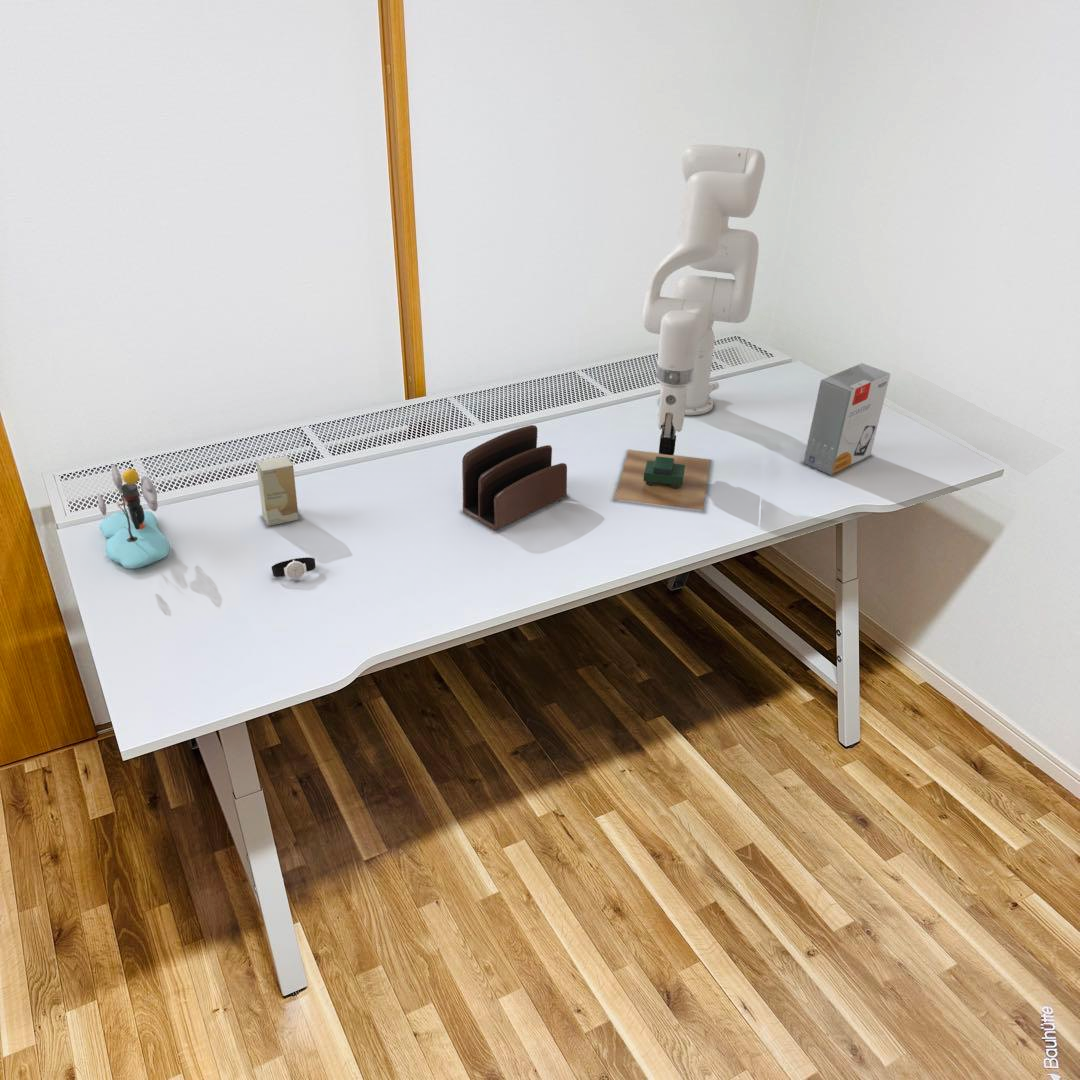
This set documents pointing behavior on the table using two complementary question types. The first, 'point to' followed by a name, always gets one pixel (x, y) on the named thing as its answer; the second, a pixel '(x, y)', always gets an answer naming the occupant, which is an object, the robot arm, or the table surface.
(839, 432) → the hard drive box
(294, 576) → the watch
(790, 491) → the table surface
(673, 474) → the green box with feet
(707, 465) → the wooden board
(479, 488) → the letter holder
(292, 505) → the cosmetic box
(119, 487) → the winged figurine
